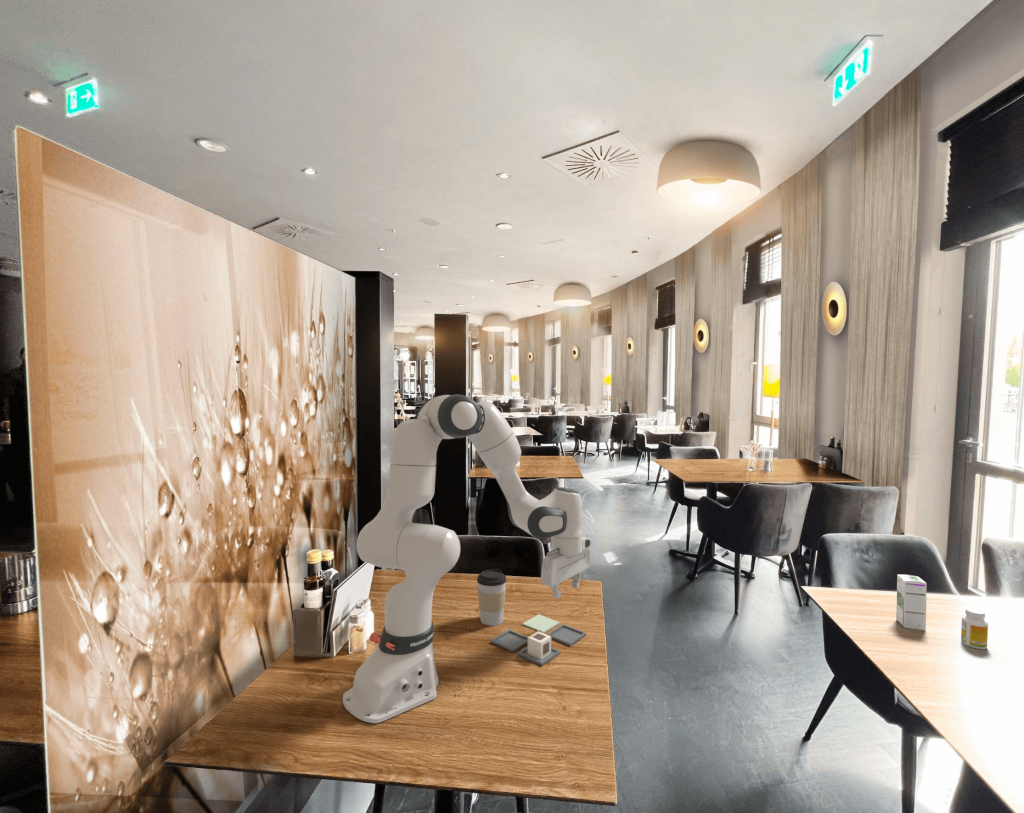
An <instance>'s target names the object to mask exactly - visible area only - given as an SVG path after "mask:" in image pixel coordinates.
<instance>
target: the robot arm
mask: <svg viewBox="0 0 1024 813" xmlns="http://www.w3.org/2000/svg"><path fill="white" fill-rule="evenodd" d="M466 437H467V438H468V439H469V441H470V442H471V444H472V445H473V447H474V449H475V450H476V452H477V455H478V456H479V458H480V459H481V461H482V462H483V464H484V465H485V466H486V467H487V469H488V470H489V471H490V472H491V474H492V475H493V477H494V478H495V481H496V482H497V484H498V486H499V489H500V490H501V492H502V494H503V496H504V498H505V500H506V503H507V510H508V511H507V512H508V517H509V520H510V522H511V523H512V524H513V525H514V527H516V528H519V529H520V530H523V531H524V532H526V533H527V534H529V535H530V536H532V537H534V538H536V539H541V540H542V539H547V538H551V544H550V546H551V550H549V551H547V552H546V555H545V556H544V558H543V560H542V565H541V570H540V571H541V573H540V574H541V575H540V582H541V584H542V585H544V586H546V587H549V588H550V589H551V592H552V597H553V598H554V599H559V598H561V596H562V591H561V590H559V588H560V587H559V586H560V584H561V583H563V582H564V581H567V580H569V579H571V578H572V577H573V580H571V588H573V589H577V588H580V581H581V579H582V576H583V572H584V571H586V570H588V569H589V568H590V566H591V561H592V560H591V559H592V558H591V557H592V552H591V547H592V543H593V542H592V539H591V538H589V537H585V536H583V530H582V523H583V516H584V515H583V513H584V511H583V501H582V497H581V493H580V492H578V491H576V490H574V489H573V488H568V487H562V486H560V487H558V486H557V487H555V488H554V489H553V491H551V493H549V494H548V495H546V496H545V497H544V498H541V499H538V498H537V497H535V496H533V495H532V494H530V493H529V492H528V491H527V490H526V488H525V486H524V484H523V482H522V480H521V478H520V476H519V473H518V471H517V468H516V465H517V464H518V463H519V461H520V459H521V457H522V449H521V447H520V443H519V440H518V438H517V436H516V433H515V432H514V431H513V428H512V427H511V426H510V424H509V422H508V421H507V419H506V418H505V416H504V415H503V414H502V412H501V411H500V410H499V409H498V407H497V406H496V405H495V404H493V403H492V402H491V401H479V402H476V400H474V399H473V398H471V397H469V396H467V395H464V394H458V393H457V394H452V395H451V394H443V395H438V396H435V397H431V398H429V399H427V400H426V401H424V402H423V403H422V404H421V405H420V407H419V409H418V411H417V412H416V414H415V415H414V417H413V418H412V419H411V418H410V419H406V420H404V421H402V422H400V423H399V424H398V425H397V427H396V430H395V433H394V436H393V441H392V444H391V451H390V460H389V469H388V470H389V473H388V481H387V482H388V483H387V492H386V496H385V499H384V502H383V504H382V507H381V509H379V511H378V513H377V515H375V517H374V518H373V519H372V520H370V521H369V522H368V523H366V524H365V525H364V526H363V527H362V529H361V530H360V531H359V534H358V536H357V538H356V551H357V554H358V557H359V558H360V560H361V561H362V562H364V563H367V564H369V565H372V566H375V567H378V568H385V569H393V570H401V571H404V572H405V577H404V578H405V579H404V580H403V581H400V582H399V583H396V584H395V585H393V586H392V587H391V588H390V589H388V592H387V593H386V595H385V598H384V625H383V626H384V627H383V628H382V631H381V634H379V633H377V632H375V631H374V632H371V634H370V635H369V640H370V642H372V643H374V644H377V645H378V646H376V648H375V649H374V651H372V653H371V654H370V655H369V656H368V657H367V658H366V659H365V661H364V662H363V663H362V664H361V665H360V667H358V669H357V670H356V672H355V674H354V678H353V686H352V687H350V688H349V689H348V690H347V691H345V692H343V695H342V704H343V707H344V708H345V709H346V711H347V712H348V713H349V714H351V715H353V716H354V717H355V718H357V719H358V720H360V721H363V722H366V723H369V724H379V723H382V722H384V721H388V720H389V719H392V718H394V717H396V716H399V715H400V714H404V713H405V712H408V711H410V710H411V709H414V708H417V707H418V706H421V705H423V704H425V703H428V702H431V701H432V700H434V699H437V696H438V695H437V688H438V685H439V681H440V680H439V679H440V677H439V676H438V671H437V668H436V664H435V657H434V647H433V641H434V634H435V633H434V631H435V630H434V622H433V620H432V618H433V617H432V616H433V613H432V612H433V597H434V591H435V589H436V586H437V584H438V582H439V581H440V580H441V578H443V576H444V575H445V574H446V573H448V572H450V571H451V570H452V569H453V568H454V567H455V566H456V564H457V563H458V560H459V558H460V555H461V542H460V539H459V536H458V535H457V533H456V531H454V530H452V529H449V528H447V527H443V526H441V525H437V524H427V523H417V522H413V517H414V513H415V512H416V510H418V509H420V508H422V507H424V506H426V505H427V504H429V503H430V502H431V501H432V499H433V498H434V495H435V488H436V474H437V472H436V471H437V453H438V449H439V445H440V443H441V442H442V440H452V439H453V440H454V439H463V438H466Z"/></svg>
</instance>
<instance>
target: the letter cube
mask: <svg viewBox="0 0 1024 813" xmlns="http://www.w3.org/2000/svg"><path fill="white" fill-rule="evenodd" d="M527 637H528V643H527V647H528V654H529V655H531V656H533V657H536V658H538V659H540V660H542V659H543V658H545V657H546V656H547V655H549V654H550V653H551V647H552V639H551V636H549V635H547V634H546V633H542V632H539V631H537V630H536V632H534V633H532V634H531V635H529V636H527Z"/></svg>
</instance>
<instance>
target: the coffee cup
mask: <svg viewBox="0 0 1024 813" xmlns="http://www.w3.org/2000/svg"><path fill="white" fill-rule="evenodd" d="M476 583H477V596H478V608H479V617H480V623H481V624H483V625H486V626H492V627H493V626H499V625H501V624H502V623H503V620H504V611H505V610H504V609H505V605H506V604H505V602H506V589H507V588H506V583H507V577H506V575H505V574H504V573H503V572H502V570H501V569H499V568H493V569H486V570H483V571H481V572H480V573H479V575H477V579H476Z"/></svg>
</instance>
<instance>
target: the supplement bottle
mask: <svg viewBox="0 0 1024 813" xmlns="http://www.w3.org/2000/svg"><path fill="white" fill-rule="evenodd" d="M964 612H965V615H962V617H961V628H960V629H961V630H960V632H961V633H960V641H961V643H962V644H963V645H965V646H967V647H970V648H972V649H977V650H985V649H987V648H988V634H989V622H988V621H987V620H986V619H985V618H986V613H985V612H984V611H983V610H981V609H978V608H975V607H974V608H973V607H965V611H964Z"/></svg>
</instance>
